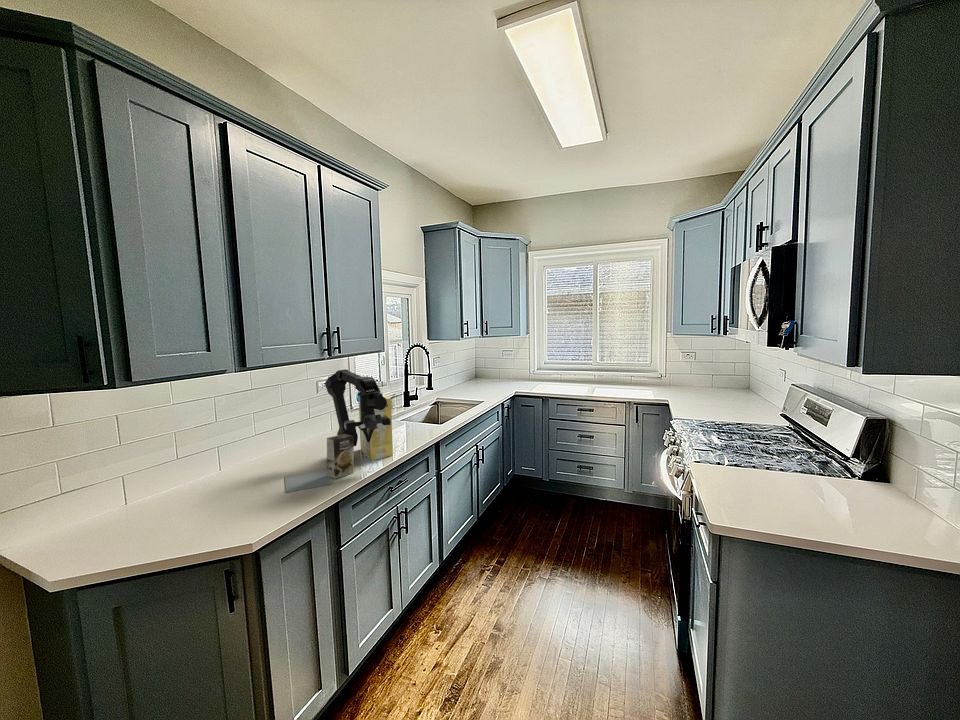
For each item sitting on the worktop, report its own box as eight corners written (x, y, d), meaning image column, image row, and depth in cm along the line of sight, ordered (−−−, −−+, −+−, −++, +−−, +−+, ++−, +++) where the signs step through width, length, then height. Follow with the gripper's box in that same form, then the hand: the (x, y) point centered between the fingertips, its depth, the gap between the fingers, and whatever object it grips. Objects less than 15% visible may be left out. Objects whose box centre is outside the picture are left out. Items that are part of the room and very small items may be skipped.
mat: (284, 476, 166) (284, 475, 166) (325, 469, 173) (325, 469, 173) (285, 492, 150) (285, 492, 150) (330, 484, 157) (330, 483, 157)
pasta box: (360, 449, 201) (358, 394, 198) (381, 445, 206) (379, 392, 203) (371, 459, 185) (368, 400, 182) (392, 455, 191) (391, 398, 188)
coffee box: (335, 479, 162) (334, 440, 161) (326, 475, 166) (325, 437, 164) (354, 473, 169) (354, 435, 168) (345, 469, 173) (345, 433, 172)
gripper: (347, 413, 159) (349, 451, 160) (393, 408, 168) (394, 444, 169) (343, 407, 169) (344, 443, 170) (386, 403, 177) (388, 437, 179)
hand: (368, 442), depth 172 cm, fingers closed
